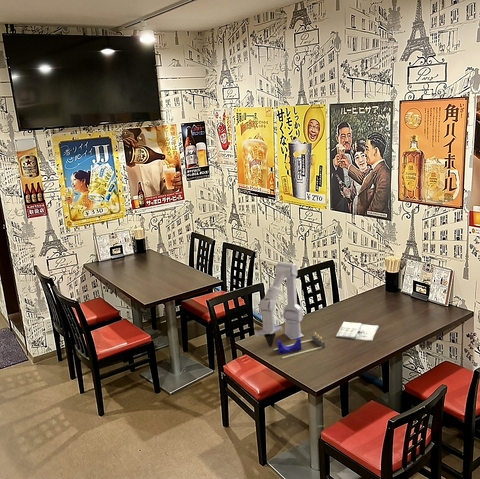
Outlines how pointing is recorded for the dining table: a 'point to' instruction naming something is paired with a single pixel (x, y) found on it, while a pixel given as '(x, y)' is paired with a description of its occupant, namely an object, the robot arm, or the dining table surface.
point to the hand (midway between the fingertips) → (270, 346)
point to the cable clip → (289, 347)
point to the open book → (352, 331)
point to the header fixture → (314, 338)
